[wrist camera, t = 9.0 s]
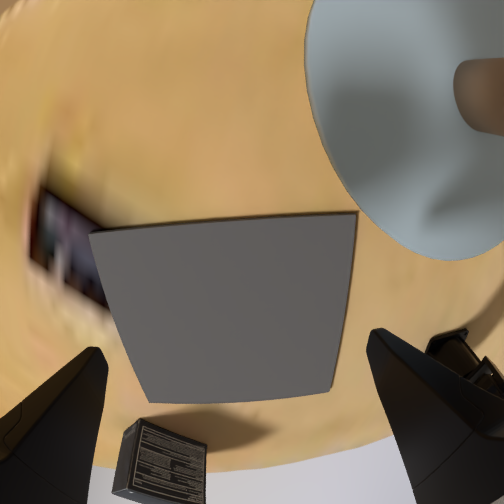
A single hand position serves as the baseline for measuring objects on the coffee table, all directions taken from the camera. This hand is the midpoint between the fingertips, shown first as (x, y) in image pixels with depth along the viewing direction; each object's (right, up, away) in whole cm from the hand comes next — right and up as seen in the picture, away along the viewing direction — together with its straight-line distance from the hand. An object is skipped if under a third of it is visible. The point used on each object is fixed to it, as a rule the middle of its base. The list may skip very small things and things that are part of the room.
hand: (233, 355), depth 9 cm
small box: (-11, -22, +24) cm, 35 cm away
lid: (+12, +12, +2) cm, 17 cm away
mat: (-1, -4, +16) cm, 16 cm away
